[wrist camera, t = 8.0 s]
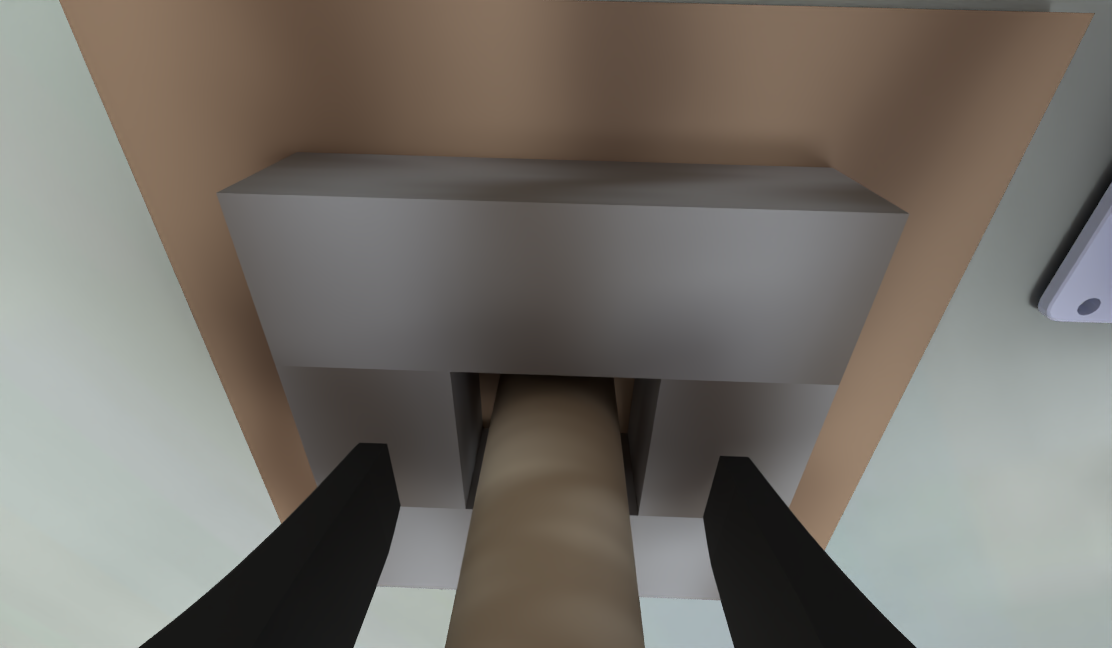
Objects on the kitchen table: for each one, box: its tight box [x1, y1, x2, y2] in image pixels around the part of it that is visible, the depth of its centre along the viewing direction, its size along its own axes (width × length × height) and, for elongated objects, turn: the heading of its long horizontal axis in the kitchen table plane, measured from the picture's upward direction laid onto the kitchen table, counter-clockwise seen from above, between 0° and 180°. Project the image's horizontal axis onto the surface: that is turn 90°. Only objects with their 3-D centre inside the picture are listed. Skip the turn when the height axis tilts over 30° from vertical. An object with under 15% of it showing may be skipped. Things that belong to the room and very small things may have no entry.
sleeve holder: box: [59, 0, 1095, 600], centre depth 14 cm, size 20×18×4 cm
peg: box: [445, 373, 645, 648], centre depth 10 cm, size 3×3×10 cm
